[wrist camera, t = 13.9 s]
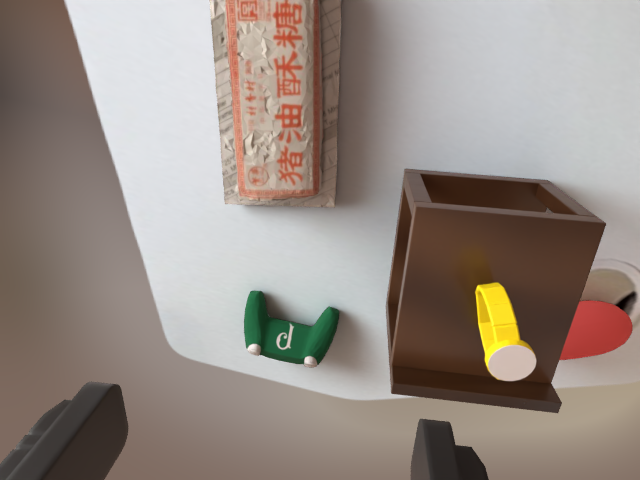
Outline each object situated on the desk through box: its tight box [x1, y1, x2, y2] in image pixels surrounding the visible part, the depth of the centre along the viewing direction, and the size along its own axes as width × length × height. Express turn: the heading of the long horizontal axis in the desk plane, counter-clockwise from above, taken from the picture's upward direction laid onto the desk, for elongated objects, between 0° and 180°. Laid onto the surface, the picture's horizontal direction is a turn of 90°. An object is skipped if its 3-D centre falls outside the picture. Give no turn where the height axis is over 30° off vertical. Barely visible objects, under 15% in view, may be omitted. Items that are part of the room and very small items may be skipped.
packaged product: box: [209, 0, 341, 208], centre depth 34 cm, size 18×5×10 cm
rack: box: [386, 169, 606, 413], centre depth 35 cm, size 14×12×12 cm
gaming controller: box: [244, 291, 339, 368], centre depth 44 cm, size 9×4×6 cm
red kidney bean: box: [559, 301, 632, 360], centre depth 40 cm, size 5×9×6 cm, turn 96°
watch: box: [475, 283, 536, 381], centre depth 28 cm, size 6×3×6 cm, turn 13°
